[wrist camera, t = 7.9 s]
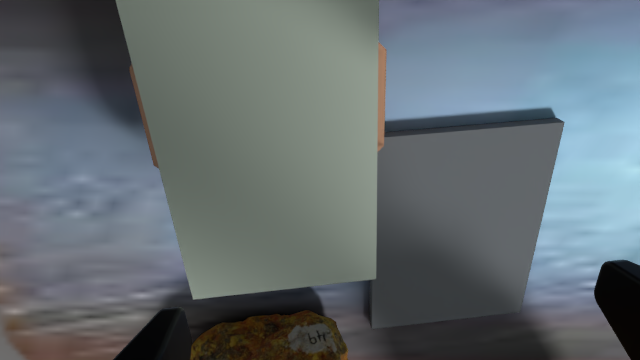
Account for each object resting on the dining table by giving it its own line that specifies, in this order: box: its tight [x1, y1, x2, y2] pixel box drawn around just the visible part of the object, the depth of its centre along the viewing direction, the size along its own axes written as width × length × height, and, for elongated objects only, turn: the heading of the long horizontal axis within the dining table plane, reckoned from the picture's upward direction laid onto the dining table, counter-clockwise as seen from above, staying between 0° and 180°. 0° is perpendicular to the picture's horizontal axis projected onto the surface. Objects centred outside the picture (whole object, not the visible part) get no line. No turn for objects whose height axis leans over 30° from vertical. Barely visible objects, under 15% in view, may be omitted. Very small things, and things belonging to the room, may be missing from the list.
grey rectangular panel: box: [370, 118, 564, 329], centre depth 23 cm, size 12×9×1 cm
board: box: [116, 0, 379, 300], centre depth 13 cm, size 12×6×2 cm, turn 3°
